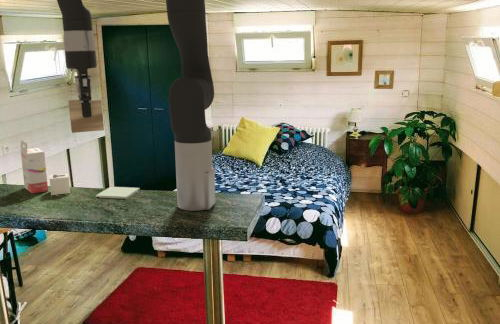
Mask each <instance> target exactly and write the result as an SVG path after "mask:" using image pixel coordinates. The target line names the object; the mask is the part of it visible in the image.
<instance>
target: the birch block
mask: <svg viewBox="0 0 500 324" xmlns="http://www.w3.org/2000/svg"><path fill="white" fill-rule="evenodd" d="M67 102H68V112H69V121H70V127H71V129H70V130H71V133H84V132H85V133H86V132H101V131H105V127H104V114H103V113H104V112H103V104H102V99H101V98H92V99H91V114H92V116H91V117H87V118H84V117H83V115H82V105H81V102H80V100H79V99H73V100H72V99H71V100H68V101H67Z"/></svg>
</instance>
